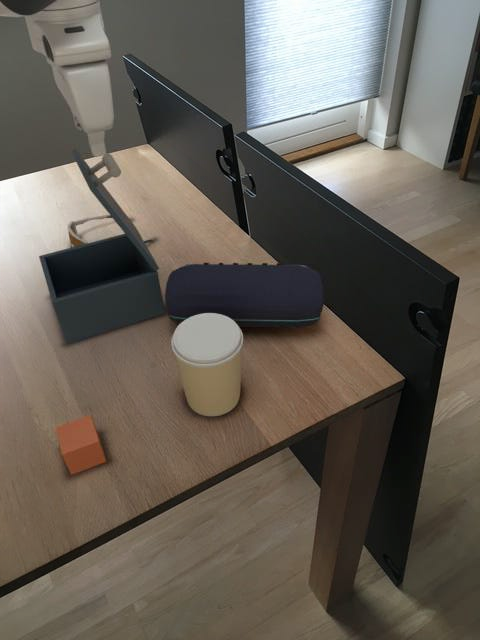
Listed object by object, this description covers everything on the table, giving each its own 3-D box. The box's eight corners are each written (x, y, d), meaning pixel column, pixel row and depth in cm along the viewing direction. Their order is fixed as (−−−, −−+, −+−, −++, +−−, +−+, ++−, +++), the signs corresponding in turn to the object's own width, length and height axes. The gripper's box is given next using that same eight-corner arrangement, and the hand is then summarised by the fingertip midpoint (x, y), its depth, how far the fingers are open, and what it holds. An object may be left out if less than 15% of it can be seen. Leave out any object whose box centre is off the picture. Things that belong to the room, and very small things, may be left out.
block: (71, 475, 68) (61, 454, 65) (64, 447, 72) (55, 426, 69) (106, 461, 70) (99, 440, 67) (98, 435, 73) (91, 414, 70)
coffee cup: (254, 379, 79) (252, 318, 71) (233, 428, 73) (228, 368, 65) (195, 365, 82) (187, 305, 74) (170, 412, 75) (158, 352, 67)
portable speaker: (320, 300, 92) (324, 252, 86) (323, 340, 85) (327, 291, 78) (175, 298, 94) (168, 251, 87) (166, 338, 87) (157, 289, 80)
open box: (67, 344, 86) (52, 302, 81) (52, 296, 96) (38, 255, 90) (165, 313, 91) (157, 272, 85) (142, 271, 101) (134, 230, 95)
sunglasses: (59, 240, 109) (55, 218, 106) (126, 224, 117) (125, 203, 114) (88, 273, 100) (86, 250, 97) (159, 253, 108) (159, 231, 105)
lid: (89, 189, 72) (119, 169, 72) (70, 151, 82) (96, 133, 82) (155, 271, 85) (180, 254, 85) (132, 229, 94) (154, 214, 94)
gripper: (27, 15, 71) (54, 119, 80) (55, 54, 57) (83, 175, 66) (75, 9, 73) (96, 112, 82) (113, 46, 59) (133, 165, 68)
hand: (90, 141), depth 74 cm, fingers open, 8 cm apart
